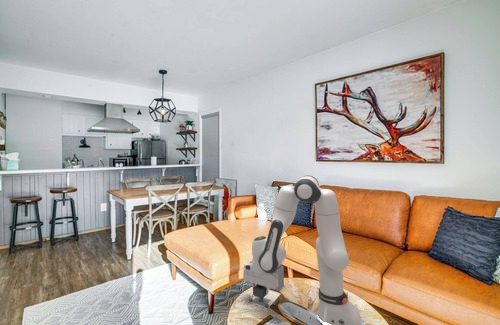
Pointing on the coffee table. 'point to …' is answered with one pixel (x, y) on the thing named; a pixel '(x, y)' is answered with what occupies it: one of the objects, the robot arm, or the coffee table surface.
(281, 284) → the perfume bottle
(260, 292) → the dark grey hollow block
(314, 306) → the coffee table surface
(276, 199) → the robot arm
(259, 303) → the grey peg base plate
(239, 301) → the coffee table surface
